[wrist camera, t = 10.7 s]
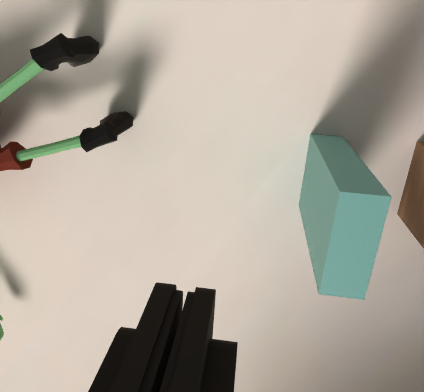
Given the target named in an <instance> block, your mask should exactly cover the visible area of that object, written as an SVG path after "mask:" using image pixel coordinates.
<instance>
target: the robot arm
mask: <svg viewBox="0 0 424 392" xmlns="http://www.w3.org/2000/svg"><path fill="white" fill-rule="evenodd" d="M215 294H216V290H215V289H207V288H198V287H196V290H195V292H188V293H187V297H186V300H185V304H184V307H183V311H182V306H183V291H179V290H176V285H173V284H165V283H156V284H155V286H154V288H153V291H152V293H151V295H150V298H149V300H148V302H147V305H146V307H145V309H144V312H143V314H142V317H141V319H140V321H139V324H138V326H137V328H136V329H132V328H124V327H121V328H120V329H119V330H118V332H117V333H116V335H115V337H114V340H113V342H112V344H111V346H110V348H109V350H108V352H107V354H106V356H105V358H104V360H103V362H102V364H101V366H100V369H99V371H98V373H97V375H96V377H95V379H94V381H93V383H92V385H91V387H90V389H89V391H88V392H234V382H235V369H236V356H237V342H231V341H223V340H216V339H212V335H213V321H214V308H215Z"/></svg>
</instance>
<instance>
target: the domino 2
mask: <svg viewBox="0 0 424 392" xmlns="http://www.w3.org/2000/svg"><path fill="white" fill-rule="evenodd" d="M397 214H398V216H399V217H400V218H401V220H402V221H403V222H404V223H405V225H406V226H407V227H408V229H409V230H410V231H411V233H412V234H413V235H414V237H415V238H416V239H417V240H418V242H419V243H420V244H421V246H422V247H423V248H424V142H417V143H416V147H415V150H414V154H413V158H412V161H411V165H410V169H409V173H408V176H407V180H406V184H405V187H404V191H403V195H402V199H401V202H400V206H399V210H398V213H397Z"/></svg>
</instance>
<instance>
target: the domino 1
mask: <svg viewBox="0 0 424 392" xmlns="http://www.w3.org/2000/svg"><path fill="white" fill-rule="evenodd" d="M390 200H391V196H390V194H389V193H388V192H387V191H386V189H385V188H384V187H383V186H382V185H381V183H380V182H379V181H378V180H377V178H376V177H375V176H374V175H373V173H372V172H371V171H370V170H369V169H368V167H367V166H366V165H365V164H364V162H363V161H362V160H361V159H360V157H359V156H358V155H357V154H356V153H355V151H354V150H353V149H352V148H351V146H350V145H349V144H348V143H347V141H346V140H345V139H344V138H343V137H341V136H329V135H318V134H311V135H310V141H309V147H308V153H307V159H306V165H305V171H304V177H303V183H302V189H301V196H300V202H299V208H300V212H301V217H302V221H303V226H304V230H305V235H306V239H307V244H308V248H309V253H310V257H311V262H312V266H313V271H314V275H315V280H316V284H317V289H318V293H319V294H322V295H330V296H338V297H346V298H355V299H363V300H364V299H365V295H366V291H367V287H368V283H369V280H370V276H371V272H372V268H373V265H374V261H375V257H376V253H377V249H378V246H379V242H380V238H381V234H382V231H383V227H384V223H385V219H386V215H387V212H388V208H389V204H390Z"/></svg>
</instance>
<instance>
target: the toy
mask: <svg viewBox="0 0 424 392" xmlns="http://www.w3.org/2000/svg"><path fill="white" fill-rule="evenodd" d="M30 53H31V56H32V59H31V60H30V61H29V62H28V63H27V64H26V65H24V66H23V67H22V68H21V69H19V70H18V71H17V72H16V73H14V74H13V75H12V76H11V77H9V78H8V79H7V80H5V81H4V82H3V83H1V84H0V102H2V101H3V100H4V99H5V98H7V97H8V96H9V95H11V94H12V93H13V92H14V91H16V90H17V89H18V88H19V87H21V86H22V85H24V84H25V83H26V82H28V81H29V80H30V79H32V78H33V77H34V76H36V75H37V74H38V73H40V72H41V71H43V70H44V69H46V70H50V71H52V70H55V69H58V67H59V64H61V63H64V62H67V63H69V64H70V65H71V66H73V67H76V66H79V65H82V64H86V63H89V62H91V61H92V60H93V59H94V58H95V57H96V56H97V55H98V54H99V44H98V42H97V41H96V40H94V39H93V38H92V37H91V36H83V37H79V38H67V37H65V36H64V35H63V34H62V33H60V34H59V35H57V36H56V37H54V38H53V39H51V40H50V41H49V42H47V43H45V44H44V45H42V46H39V47H37V48H33V49H31V50H30ZM131 126H133V117H132V116H131V115H130V114H129V113H127V112H118V113H113V114H110V115H108V116H107V117H105V118H104V119H102V120H101V121H100V125H99V126H97V127H95V128H86V129H84V130H83V131H82V132H81V134H80V136H76V137H73V138H69V139H66V140H62V141H58V142H55V143H51V144H47V145H42V146H38V147H34V148H30V149H25V148H24V147H23V146H22V145H20V144H19V143H18V142H9V143H8V144H7V145H6V146H5V147H3V148H1V145H0V171H3V170H23V169H26V168H30V166H31V163H32V160H33V159H32V158H36V157H41V156H45V155H49V154H53V153H56V152H60V151H64V150H69V149H73V148H78V147H82V148H83V149H84V150H85V151H86V152H88V151H90V150H92V149H94V148H96V147H99V146H102V145H105V144H108V143H111V142H114V141H117V135H119V134H121V133H122V132H124V131H126V130H127V129H129V128H130V127H131ZM0 320H1V321H2V320H3V318H2V316H1V315H0ZM3 334H4V333H3V329H2V326H1V324H0V340H1V339H2V337H3Z"/></svg>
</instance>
